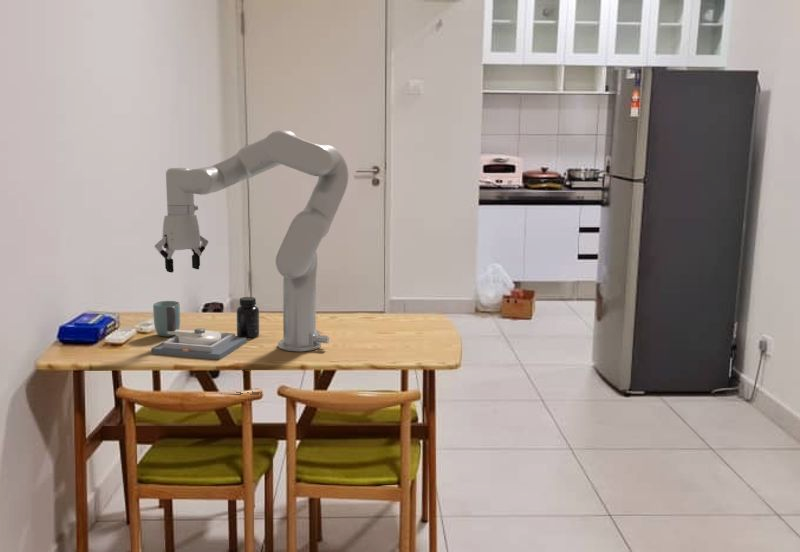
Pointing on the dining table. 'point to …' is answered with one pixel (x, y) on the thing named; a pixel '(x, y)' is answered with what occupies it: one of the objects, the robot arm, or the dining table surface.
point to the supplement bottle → (247, 318)
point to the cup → (164, 316)
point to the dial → (187, 336)
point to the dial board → (200, 347)
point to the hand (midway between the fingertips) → (183, 269)
